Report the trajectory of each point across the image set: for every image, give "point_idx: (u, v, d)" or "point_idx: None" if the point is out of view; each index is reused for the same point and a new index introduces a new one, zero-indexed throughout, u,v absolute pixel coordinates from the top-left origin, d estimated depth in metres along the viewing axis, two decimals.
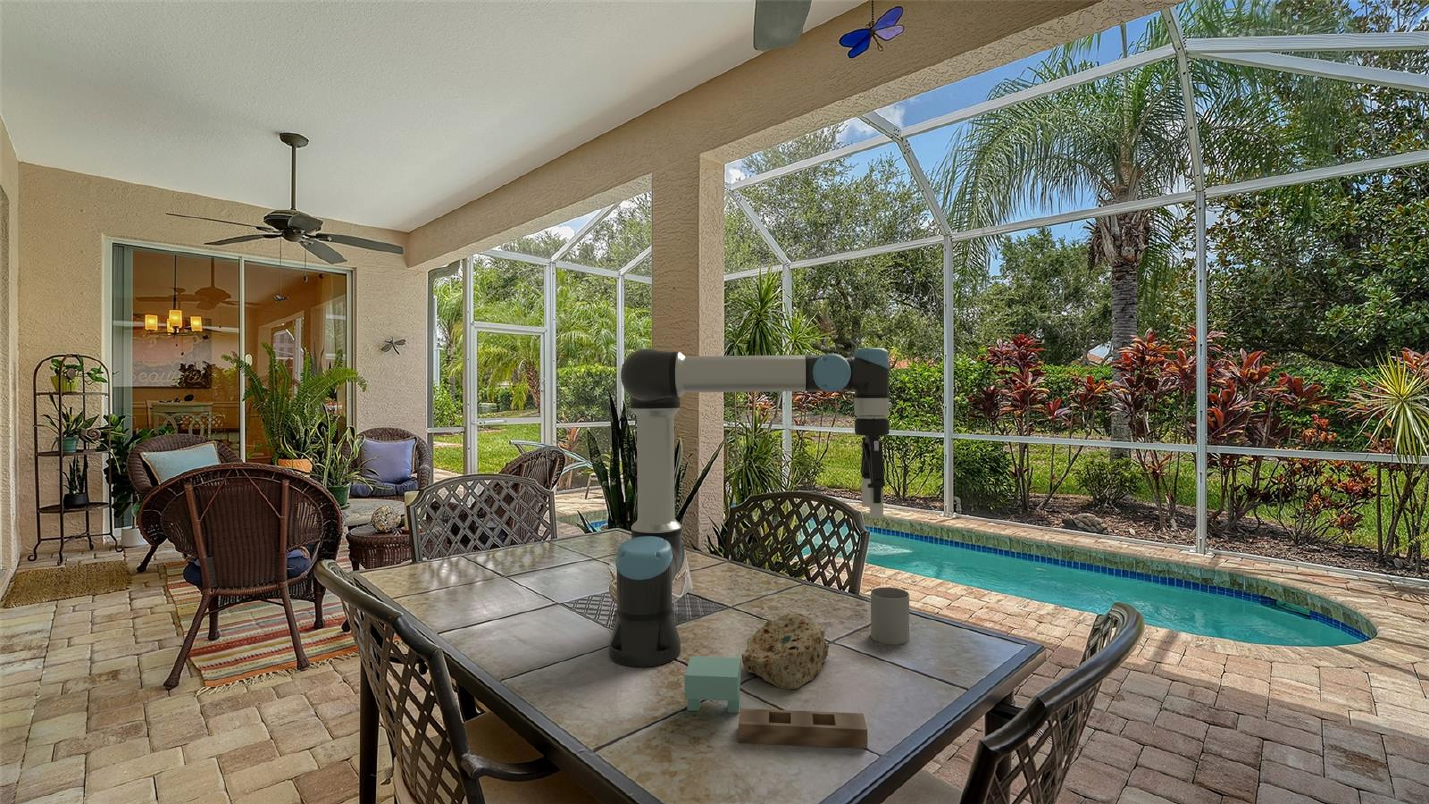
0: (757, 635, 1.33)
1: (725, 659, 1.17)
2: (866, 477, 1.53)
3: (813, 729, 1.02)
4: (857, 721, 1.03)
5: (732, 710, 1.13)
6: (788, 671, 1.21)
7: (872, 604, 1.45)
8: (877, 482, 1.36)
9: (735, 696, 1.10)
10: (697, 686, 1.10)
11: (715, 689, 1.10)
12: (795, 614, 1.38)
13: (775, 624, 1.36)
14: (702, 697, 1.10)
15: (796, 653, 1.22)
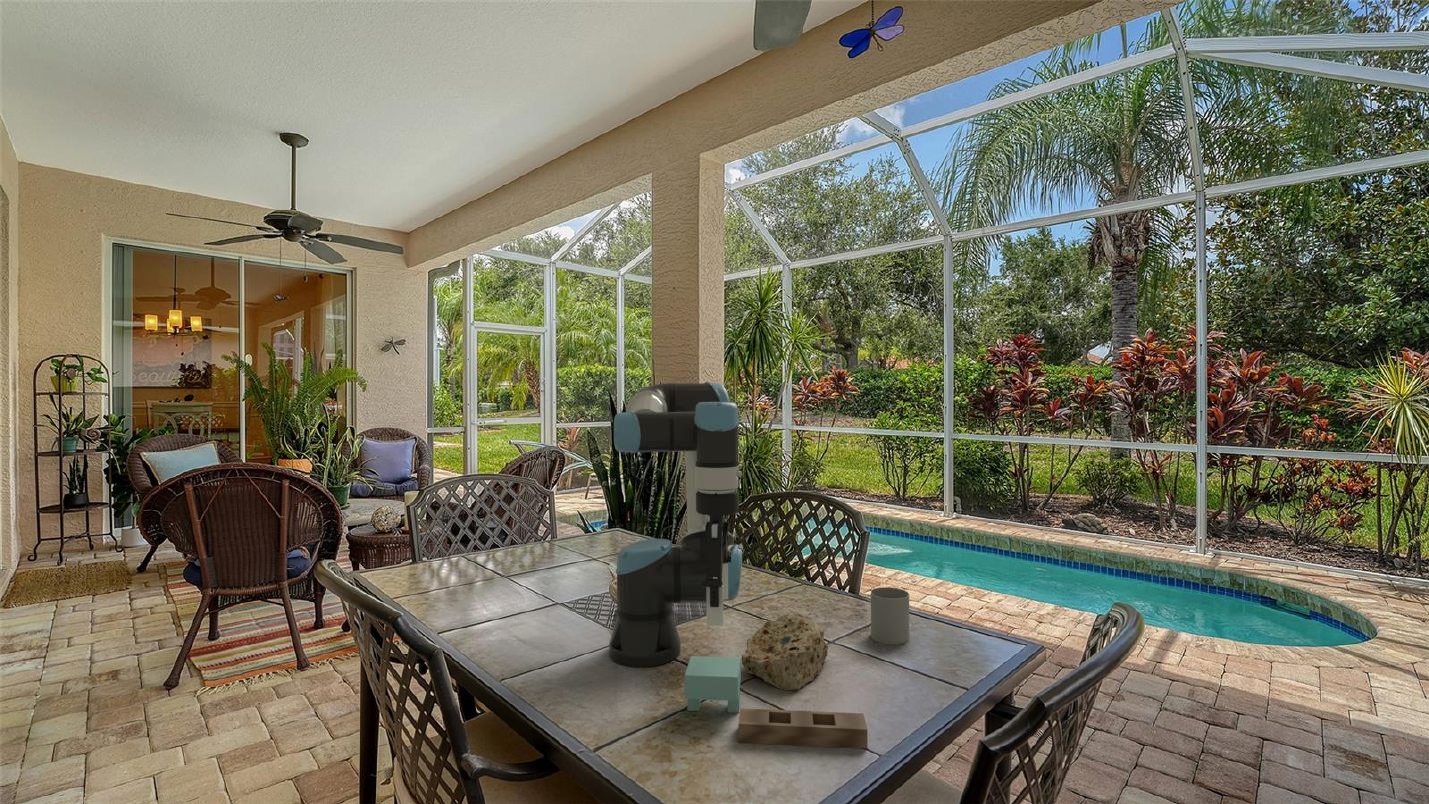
0: (757, 635, 1.32)
1: (725, 659, 1.17)
2: None
3: (813, 729, 1.02)
4: (857, 721, 1.03)
5: (732, 710, 1.13)
6: (789, 672, 1.21)
7: (872, 604, 1.45)
8: (711, 581, 1.04)
9: (735, 696, 1.10)
10: (697, 686, 1.10)
11: (715, 689, 1.10)
12: (794, 614, 1.37)
13: (774, 625, 1.35)
14: (702, 697, 1.10)
15: (797, 654, 1.22)
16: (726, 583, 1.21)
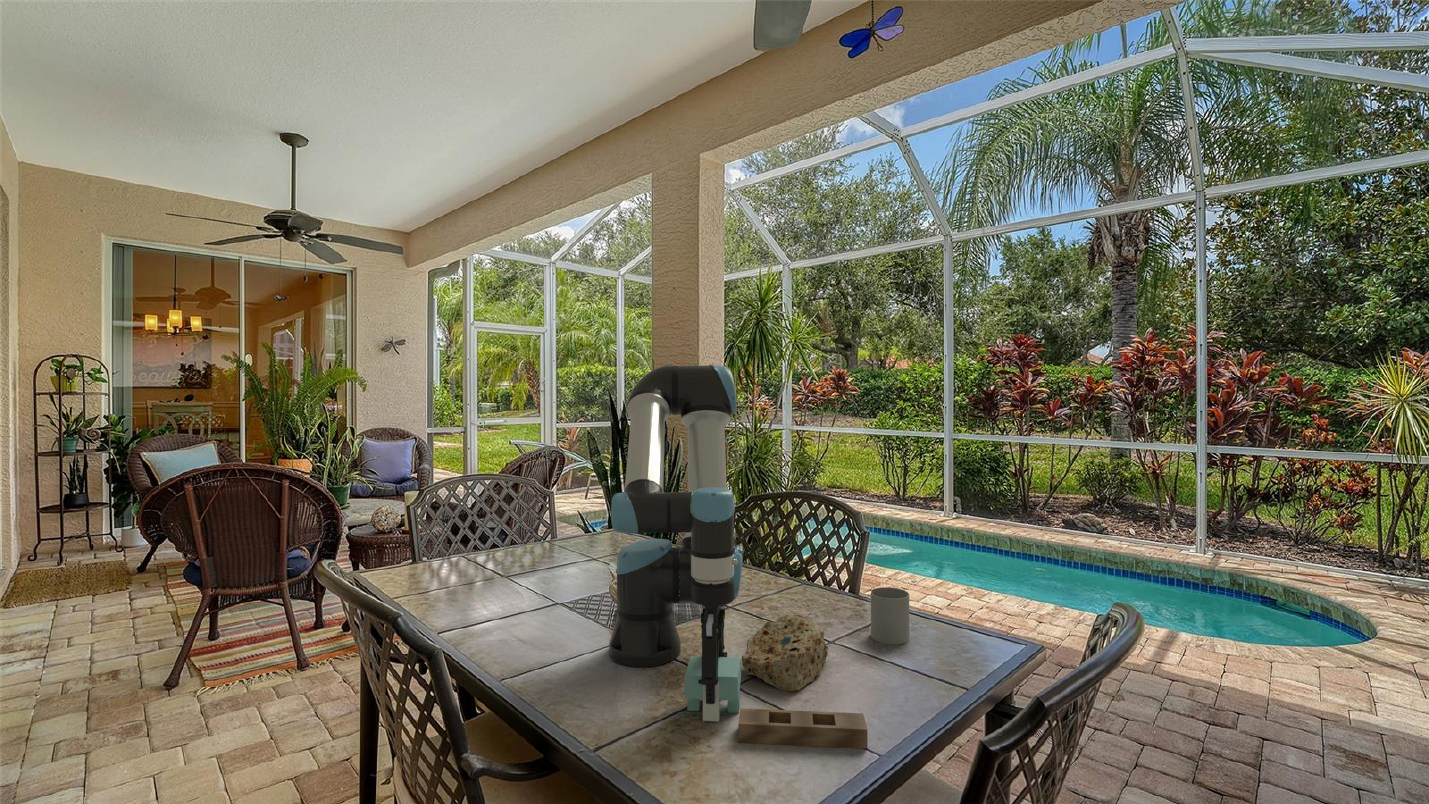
0: (757, 636, 1.32)
1: (725, 659, 1.17)
2: None
3: (813, 729, 1.02)
4: (857, 721, 1.03)
5: (732, 710, 1.13)
6: (789, 673, 1.20)
7: (872, 604, 1.45)
8: (707, 682, 1.06)
9: (735, 696, 1.10)
10: (697, 686, 1.10)
11: None
12: (794, 615, 1.37)
13: (774, 625, 1.35)
14: (702, 697, 1.10)
15: (797, 655, 1.21)
16: None
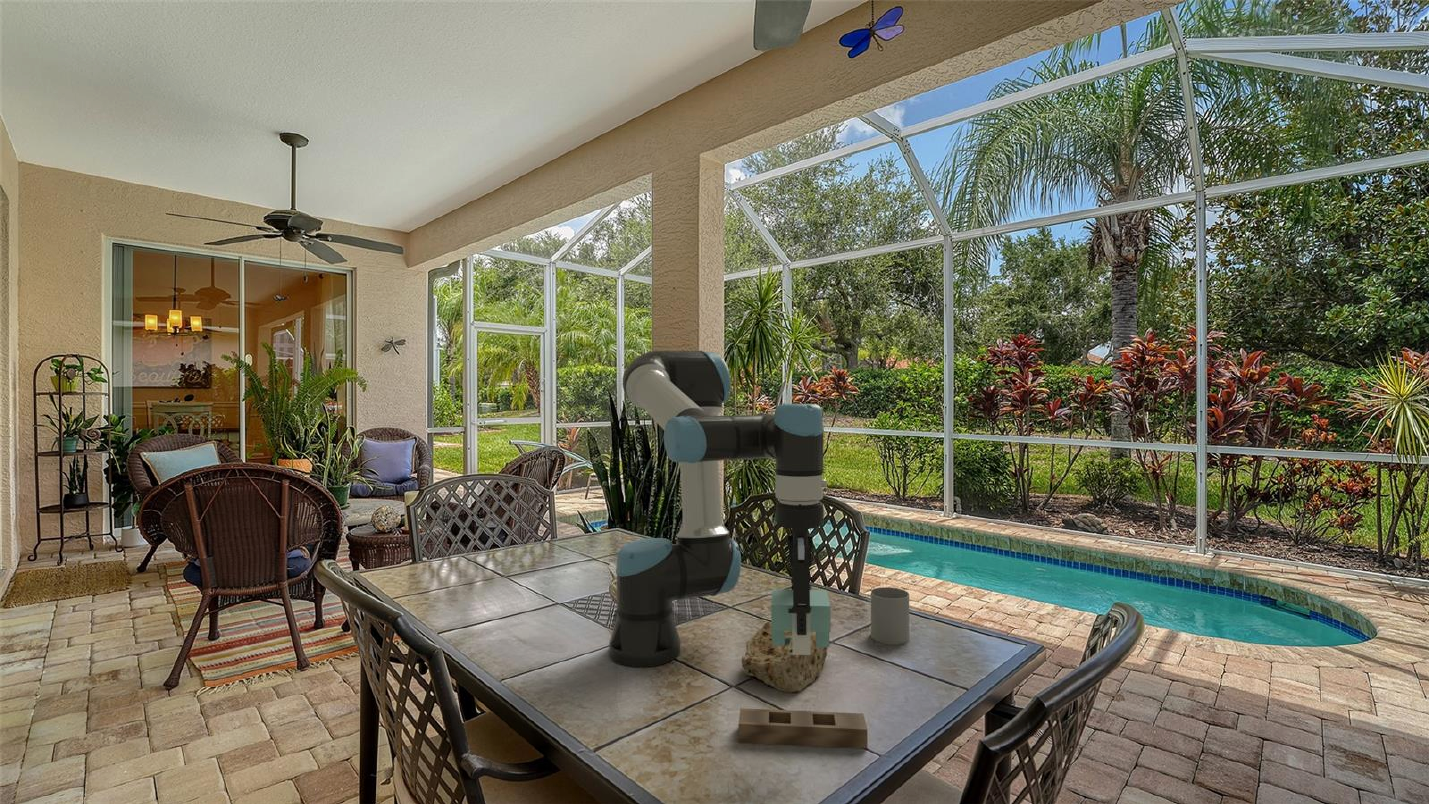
0: (756, 637, 1.32)
1: (811, 591, 1.07)
2: None
3: (813, 729, 1.02)
4: (857, 721, 1.03)
5: (822, 645, 1.03)
6: (790, 674, 1.20)
7: (872, 604, 1.45)
8: (800, 609, 0.96)
9: (827, 627, 1.00)
10: (785, 617, 1.00)
11: None
12: None
13: None
14: (791, 629, 1.00)
15: (798, 655, 1.21)
16: None
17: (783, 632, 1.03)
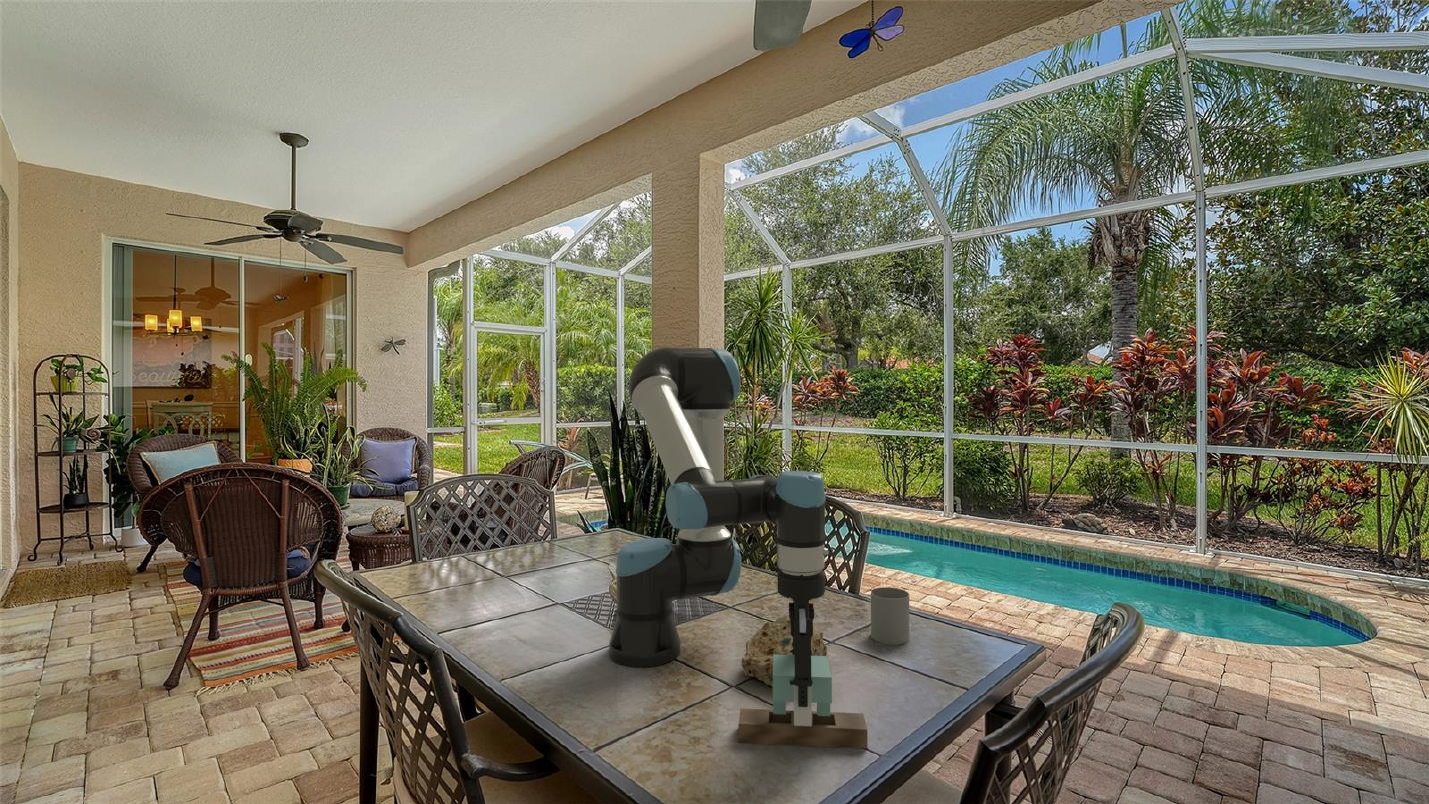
0: (756, 638, 1.31)
1: (812, 658, 1.07)
2: None
3: (813, 729, 1.02)
4: (857, 721, 1.03)
5: (823, 713, 1.03)
6: None
7: (872, 604, 1.45)
8: (801, 683, 0.97)
9: (829, 698, 1.00)
10: (787, 688, 1.01)
11: None
12: None
13: (773, 626, 1.34)
14: (792, 699, 1.01)
15: None
16: None
17: None
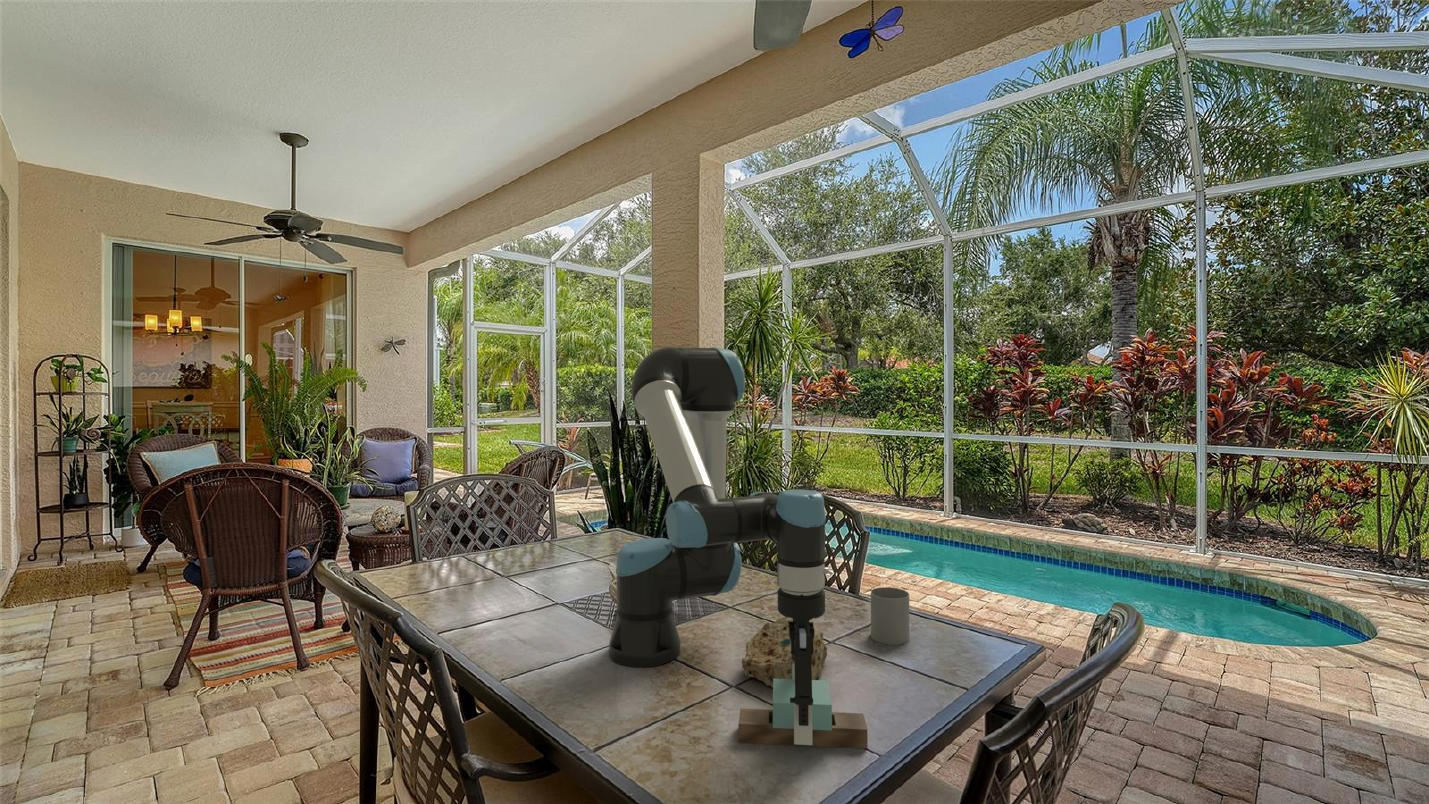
0: (756, 638, 1.31)
1: (812, 682, 1.07)
2: None
3: None
4: (857, 721, 1.03)
5: None
6: (791, 675, 1.19)
7: (872, 604, 1.45)
8: (802, 700, 0.95)
9: (829, 725, 1.00)
10: (787, 715, 1.01)
11: None
12: None
13: (773, 627, 1.34)
14: (792, 726, 1.01)
15: None
16: None
17: None
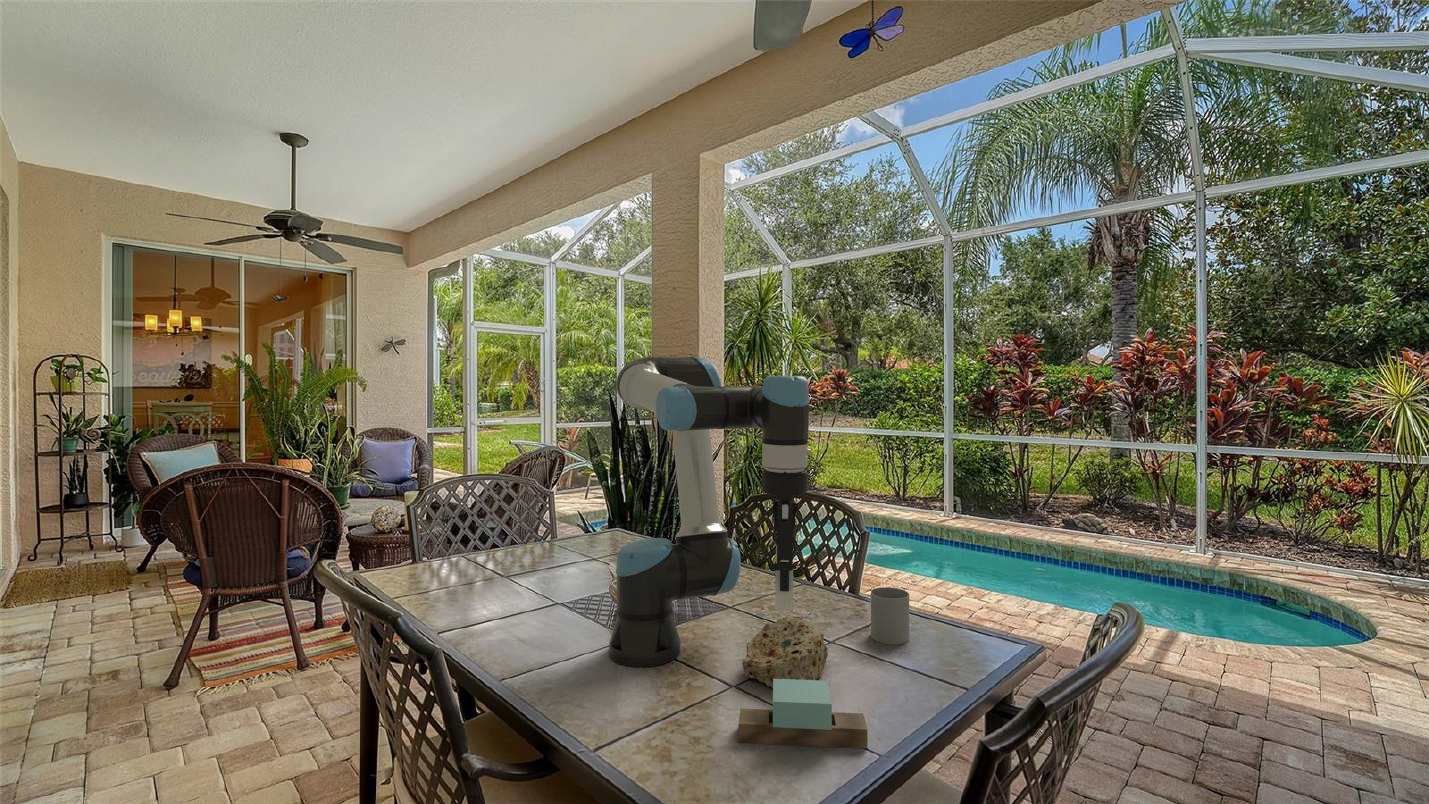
0: (756, 639, 1.31)
1: (812, 682, 1.07)
2: None
3: (813, 729, 1.02)
4: (857, 721, 1.03)
5: None
6: (792, 676, 1.19)
7: (872, 604, 1.45)
8: (783, 565, 0.99)
9: (829, 724, 1.00)
10: (787, 714, 1.01)
11: (806, 717, 1.00)
12: (793, 617, 1.36)
13: (773, 628, 1.33)
14: (792, 725, 1.01)
15: (799, 657, 1.20)
16: None
17: None
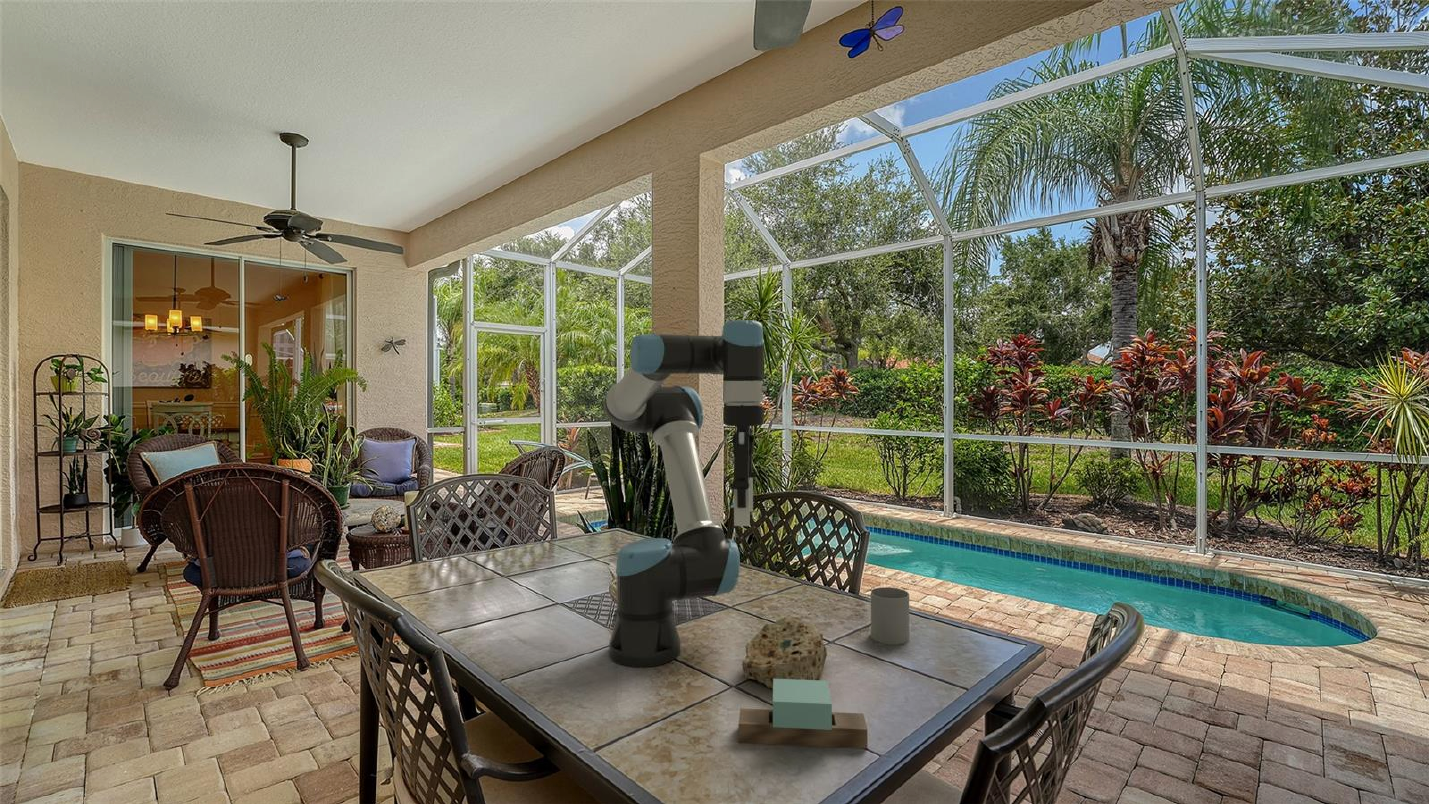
0: (756, 640, 1.30)
1: (812, 682, 1.07)
2: None
3: (813, 729, 1.02)
4: (857, 721, 1.03)
5: None
6: (792, 676, 1.19)
7: (872, 604, 1.45)
8: (739, 482, 1.12)
9: (829, 724, 1.00)
10: (787, 714, 1.01)
11: (806, 717, 1.00)
12: (792, 617, 1.36)
13: (773, 628, 1.33)
14: (792, 725, 1.01)
15: (800, 658, 1.20)
16: (751, 496, 1.28)
17: None
